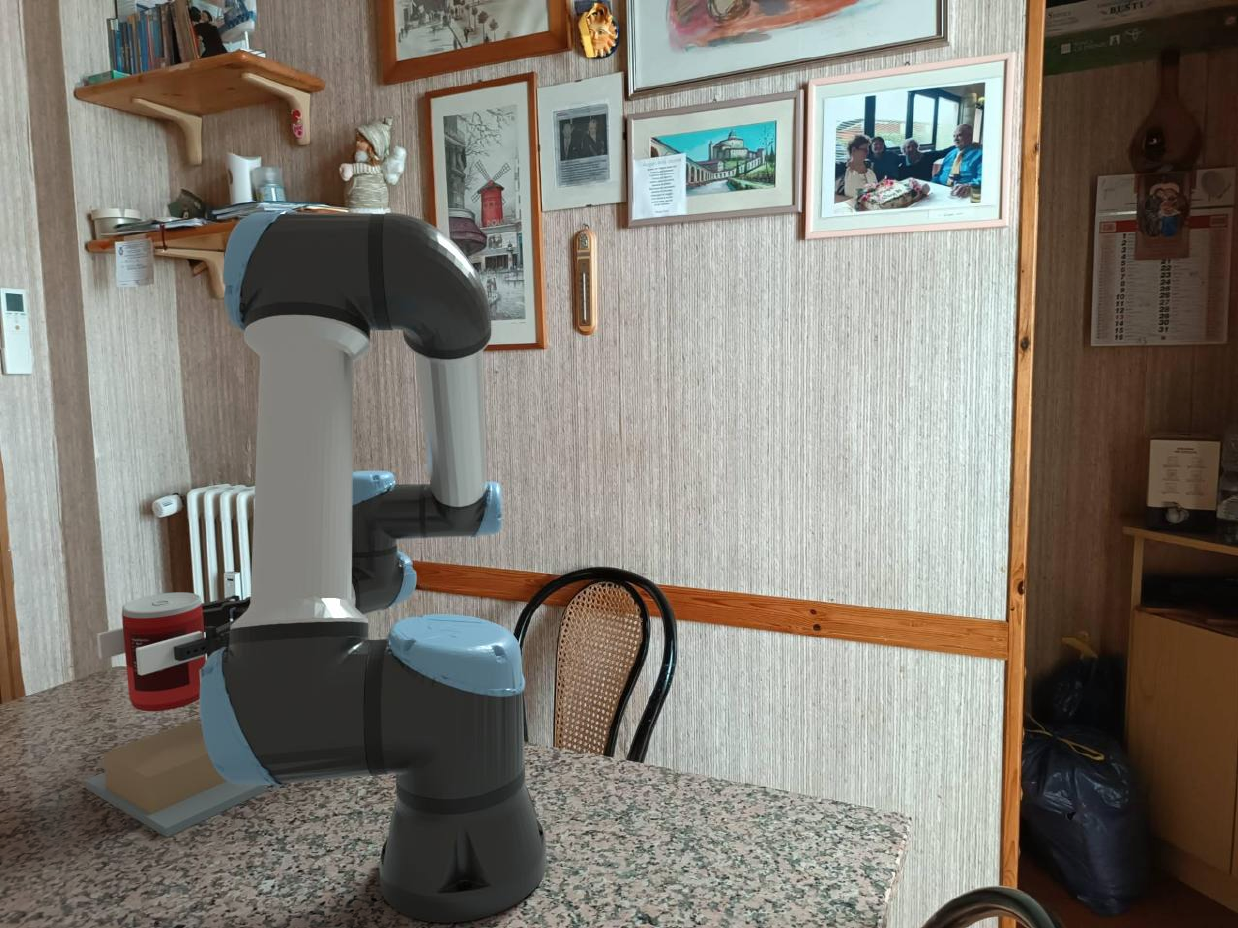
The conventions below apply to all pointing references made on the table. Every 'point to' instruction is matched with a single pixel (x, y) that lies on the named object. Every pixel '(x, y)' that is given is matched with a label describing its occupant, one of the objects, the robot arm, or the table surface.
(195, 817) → the plinth
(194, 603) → the canned food
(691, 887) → the table surface
